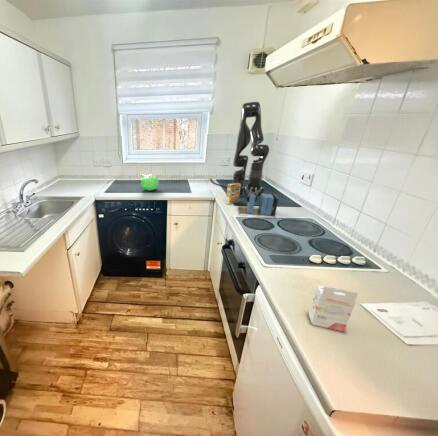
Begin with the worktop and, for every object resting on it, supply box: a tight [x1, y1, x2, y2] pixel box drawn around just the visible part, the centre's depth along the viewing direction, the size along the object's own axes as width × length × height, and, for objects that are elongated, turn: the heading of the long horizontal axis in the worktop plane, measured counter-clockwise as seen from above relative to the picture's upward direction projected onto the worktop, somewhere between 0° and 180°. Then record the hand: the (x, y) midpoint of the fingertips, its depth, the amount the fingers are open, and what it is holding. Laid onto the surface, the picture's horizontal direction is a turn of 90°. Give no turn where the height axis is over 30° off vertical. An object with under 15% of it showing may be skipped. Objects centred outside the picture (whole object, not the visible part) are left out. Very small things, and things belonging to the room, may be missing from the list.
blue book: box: [245, 192, 256, 215], centre depth 161 cm, size 3×9×12 cm, turn 165°
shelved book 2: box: [265, 193, 274, 215], centre depth 158 cm, size 9×3×12 cm, turn 165°
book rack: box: [237, 193, 279, 218], centre depth 160 cm, size 12×22×13 cm, turn 75°
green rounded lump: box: [139, 173, 160, 192], centre depth 215 cm, size 18×17×15 cm
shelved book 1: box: [257, 193, 268, 216], centre depth 159 cm, size 9×3×12 cm, turn 165°
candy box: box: [225, 183, 241, 205], centre depth 179 cm, size 9×4×15 cm, turn 107°
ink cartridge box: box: [308, 285, 358, 332], centre depth 72 cm, size 9×5×15 cm, turn 69°
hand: (251, 201), depth 160 cm, fingers open, 3 cm apart
